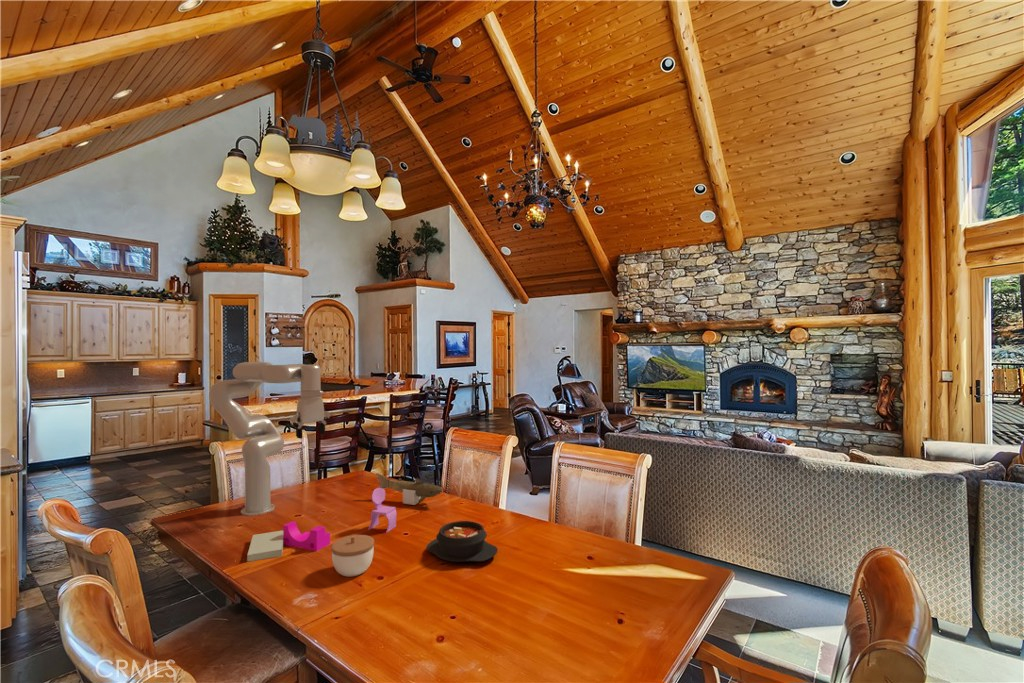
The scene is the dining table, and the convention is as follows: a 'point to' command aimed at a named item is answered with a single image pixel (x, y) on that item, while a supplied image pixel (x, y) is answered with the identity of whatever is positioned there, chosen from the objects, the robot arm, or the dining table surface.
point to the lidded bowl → (352, 554)
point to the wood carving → (410, 489)
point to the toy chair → (382, 510)
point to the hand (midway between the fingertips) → (310, 436)
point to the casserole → (462, 543)
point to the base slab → (265, 546)
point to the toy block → (305, 537)
